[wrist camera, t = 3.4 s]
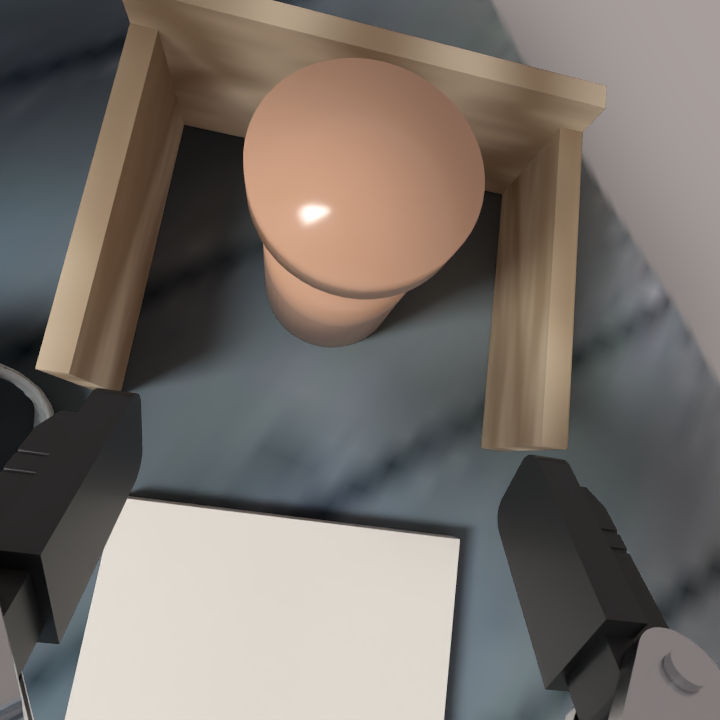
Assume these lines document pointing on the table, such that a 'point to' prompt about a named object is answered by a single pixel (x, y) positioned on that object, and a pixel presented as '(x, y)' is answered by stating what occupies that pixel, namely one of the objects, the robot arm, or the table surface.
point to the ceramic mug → (29, 393)
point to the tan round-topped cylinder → (356, 193)
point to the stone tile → (265, 619)
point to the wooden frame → (232, 116)
